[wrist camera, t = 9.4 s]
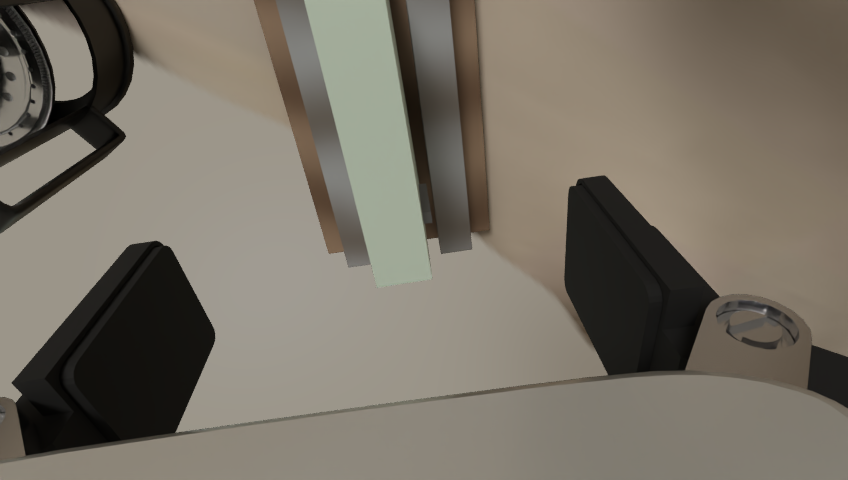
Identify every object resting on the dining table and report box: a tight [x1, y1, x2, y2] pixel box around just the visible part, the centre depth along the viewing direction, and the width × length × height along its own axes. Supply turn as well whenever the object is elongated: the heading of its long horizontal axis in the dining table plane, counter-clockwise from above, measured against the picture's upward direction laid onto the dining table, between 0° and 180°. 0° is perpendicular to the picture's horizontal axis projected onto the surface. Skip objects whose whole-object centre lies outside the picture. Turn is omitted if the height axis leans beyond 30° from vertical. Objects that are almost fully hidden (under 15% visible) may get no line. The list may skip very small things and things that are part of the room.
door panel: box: [304, 0, 432, 288], centre depth 21 cm, size 12×3×10 cm, turn 8°
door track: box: [254, 0, 490, 267], centre depth 25 cm, size 20×11×3 cm, turn 8°
